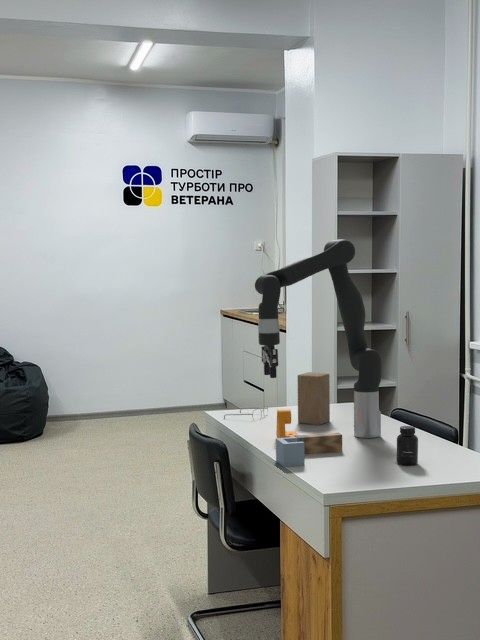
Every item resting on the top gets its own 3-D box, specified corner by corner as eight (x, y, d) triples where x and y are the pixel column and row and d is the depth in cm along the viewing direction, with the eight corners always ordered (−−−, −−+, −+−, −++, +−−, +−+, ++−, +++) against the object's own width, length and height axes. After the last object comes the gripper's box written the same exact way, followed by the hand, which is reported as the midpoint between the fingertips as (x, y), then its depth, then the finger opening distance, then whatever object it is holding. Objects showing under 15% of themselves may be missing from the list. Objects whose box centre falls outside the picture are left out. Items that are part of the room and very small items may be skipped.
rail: (338, 449, 286) (338, 432, 286) (342, 452, 282) (342, 434, 282) (294, 452, 282) (294, 435, 282) (298, 455, 278) (298, 437, 278)
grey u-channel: (296, 459, 272) (295, 437, 272) (304, 465, 264) (304, 442, 263) (276, 460, 271) (275, 438, 270) (283, 466, 262) (283, 443, 262)
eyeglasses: (255, 422, 341) (255, 410, 341) (223, 419, 347) (223, 408, 347) (270, 415, 355) (270, 404, 355) (239, 413, 362) (239, 402, 362)
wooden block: (330, 421, 338) (329, 373, 337) (319, 425, 330) (318, 376, 328) (308, 419, 343) (308, 372, 342) (297, 423, 335) (297, 374, 334)
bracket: (299, 444, 295) (299, 411, 295) (279, 445, 295) (279, 412, 294) (295, 438, 306) (295, 406, 305) (276, 438, 306) (276, 407, 305)
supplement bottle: (405, 467, 259) (405, 430, 259) (392, 462, 266) (392, 426, 265) (422, 464, 263) (422, 427, 262) (408, 460, 269) (408, 424, 268)
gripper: (284, 332, 284) (285, 378, 285) (273, 329, 298) (275, 373, 299) (263, 333, 283) (264, 379, 284) (254, 330, 296) (255, 374, 298)
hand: (270, 376), depth 291 cm, fingers open, 8 cm apart
